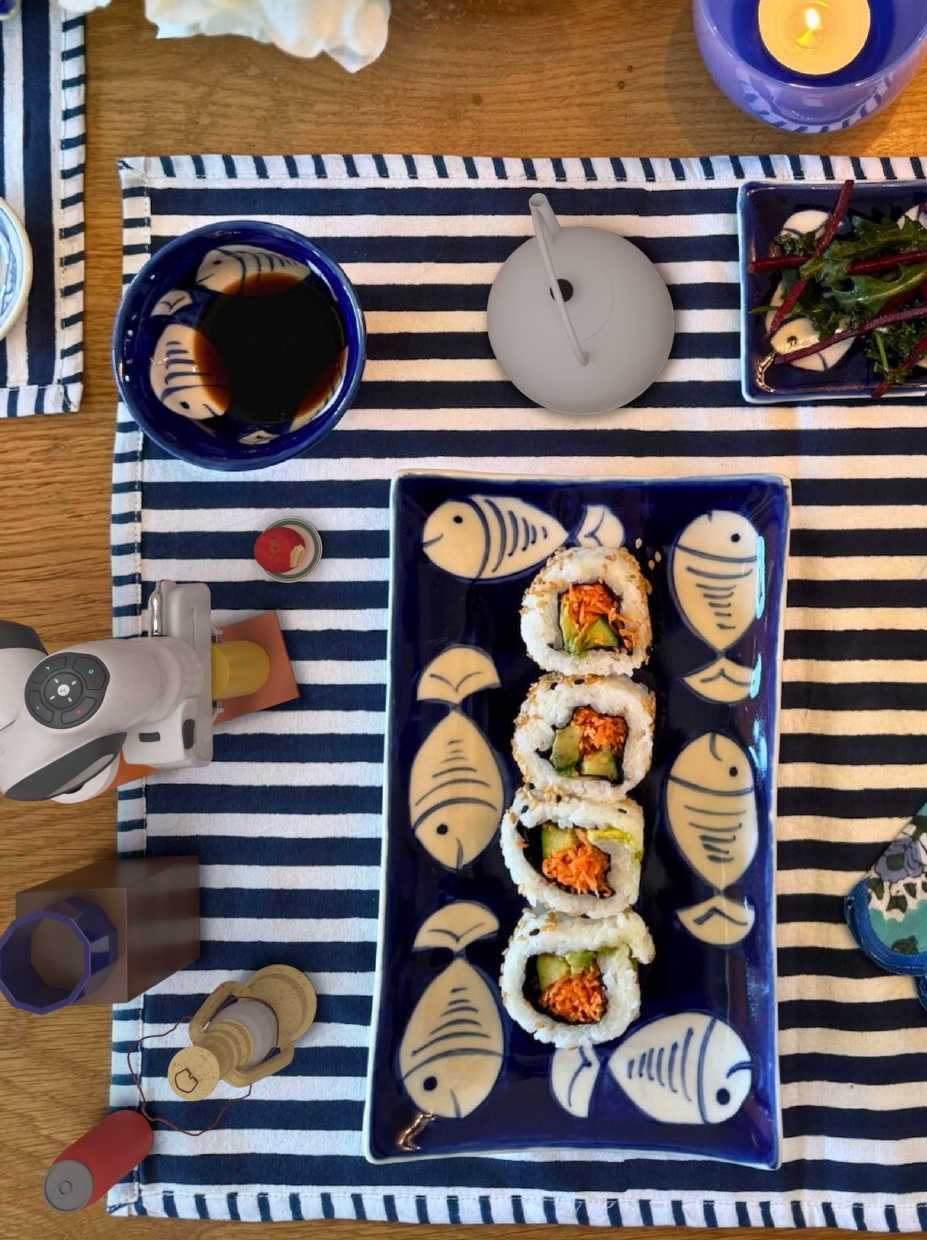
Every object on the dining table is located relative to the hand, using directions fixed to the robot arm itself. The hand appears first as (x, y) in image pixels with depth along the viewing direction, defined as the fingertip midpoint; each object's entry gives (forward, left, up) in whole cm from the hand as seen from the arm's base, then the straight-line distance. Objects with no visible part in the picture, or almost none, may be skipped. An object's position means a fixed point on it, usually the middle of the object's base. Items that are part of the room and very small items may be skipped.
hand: (217, 671), depth 135 cm
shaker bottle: (-11, -8, -8) cm, 16 cm away
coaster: (0, 0, -7) cm, 7 cm away
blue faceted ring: (-12, -28, +9) cm, 32 cm away
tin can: (0, 0, -7) cm, 7 cm away
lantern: (+3, -40, -8) cm, 41 cm away
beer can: (-15, -54, -8) cm, 56 cm away
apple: (+6, +14, -8) cm, 17 cm away
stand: (-12, -28, -7) cm, 31 cm away
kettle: (+43, +41, -8) cm, 60 cm away
